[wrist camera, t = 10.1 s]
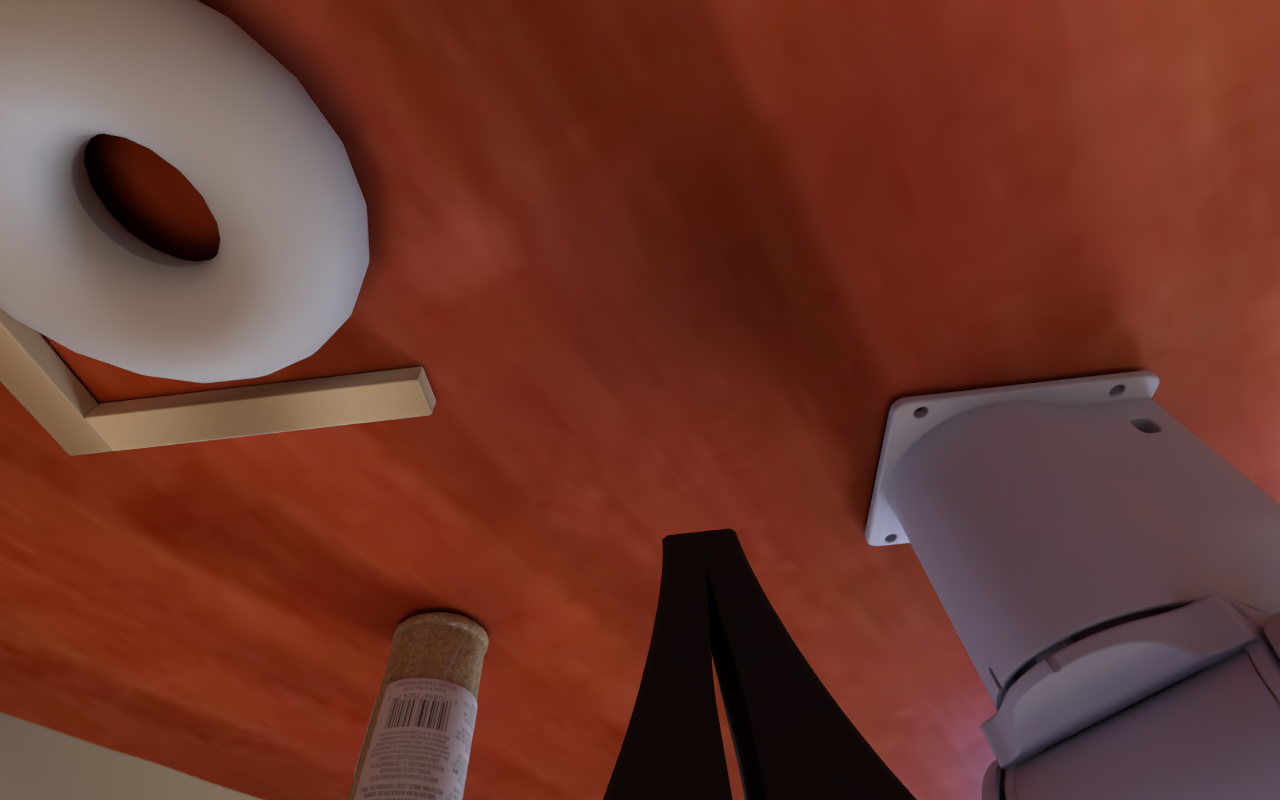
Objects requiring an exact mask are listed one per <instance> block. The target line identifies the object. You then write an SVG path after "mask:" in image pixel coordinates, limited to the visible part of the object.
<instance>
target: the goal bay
mask: <svg viewBox="0 0 1280 800" xmlns="http://www.w3.org/2000/svg"><path fill="white" fill-rule="evenodd" d="M0 382H1V383H2V384H3V385H4V386H5V387H6V388H7V389H8V390H9V391H10V392H11V394H12V395H13V396H14V397H15V398H16V399H17V400H18V401H19V402H20V403H21V404H22V405H23V406H24V407H25V408H26V410H27V411H28V412H29V413H30V414H31V415H32V416H33V417H34V418H35V419H36V420H37V421H38V422H39V423H40V424H41V426H42V427H43V428H44V429H45V430H46V431H47V432H48V433H49V434H50V435H51V436H52V437H53V438H54V439H55V440H56V442H57V443H58V444H59V445H60V446H61V447H62V448H63V449H64V450H65V451H66V452H67V453H68V454H69V455H71V456H73V455H81V454H90V453H99V452H108V451H119V450H127V449H136V448H145V447H154V446H163V445H171V444H180V443H189V442H198V441H207V440H215V439H224V438H233V437H242V436H251V435H259V434H268V433H277V432H286V431H295V430H303V429H312V428H321V427H330V426H338V425H347V424H356V423H365V422H374V421H382V420H391V419H400V418H409V417H418V416H426V415H431V414H432V411H433V409H434V406H435V403H436V399H435V397H434V394H433V392H432V389H431V387H430V384H429V382H428V379H427V377H426V374H425V371H424V369H423V367H412V368H404V369H395V370H386V371H378V372H369V373H360V374H352V375H343V376H334V377H326V378H317V379H308V380H300V381H291V382H282V383H274V384H265V385H256V386H248V387H239V388H230V389H222V390H213V391H204V392H196V393H187V394H178V395H170V396H161V397H152V398H144V399H135V400H126V401H117V402H109V403H100V404H98V403H97V402H96V400H95V399H94V398H93V397H92V396H91V394H90V393H89V392H88V391H87V390H86V388H85V387H84V386H83V385H82V384H81V382H80V381H79V380H78V379H77V378H76V376H75V375H74V374H73V373H72V372H71V371H70V369H69V368H68V367H67V366H66V365H65V363H64V362H63V361H62V360H61V359H60V357H59V356H58V355H57V354H56V353H55V351H54V350H53V349H52V348H51V347H50V345H49V344H48V343H47V342H46V341H45V339H44V338H43V337H42V336H41V335H40V333H39V332H37V331H36V330H34V329H32V328H30V327H28V326H26V325H25V324H23V323H21V322H19V321H17V320H16V319H14V318H13V317H11V316H10V315H9V314H8V313H6V312H5V311H4V310H2V309H1V308H0Z"/></svg>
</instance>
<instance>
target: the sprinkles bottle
mask: <svg viewBox="0 0 1280 800" xmlns="http://www.w3.org/2000/svg"><path fill="white" fill-rule="evenodd" d="M392 641H393V649H392V652H391V655H390V657H389V661H388V665H387V669H386V672H385V676H384V678H383V682H382V685H381V688H380V693H379V695H378V697H377V698H376V700H375V703H374V707H373V710H372V713H371V717H370V720H369V723H368V727H367V730H366V733H365V737H364V741H363V744H362V747H361V751H360V754H359V757H358V761H357V765H356V768H355V772H354V782H353V785H352V788H351V792H350V795H349V798H348V800H463V793H464V787H465V780H466V774H467V767H468V761H469V755H470V749H471V743H472V737H473V731H474V725H475V718H476V712H477V696H478V690H479V683H480V677H481V670H482V665H483V658H484V655H485V653H486V651H487V648H488V642H489V641H488V637H487V633H486V631H485V630H484V629H483V628H482V627H481V626H479V625H478V624H477V623H476V622H475V621H473V620H470V619H469V618H467V617H464V616H461V615H458V614H453V613H447V612H433V613H423V614H418V615H414V616H412V617H410V618H408V619H406V620H405V621H403V622H402V623H400V624H399V625H398V626H397V628H396V630H395V632H394V635H393V638H392Z"/></svg>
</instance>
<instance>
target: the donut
mask: <svg viewBox="0 0 1280 800" xmlns="http://www.w3.org/2000/svg"><path fill="white" fill-rule="evenodd" d="M97 134H109V135H114V136H119V137H124V138H127V139H129V140H132V141H134V142H136V143H138V144H140V145H143V146H145V147H147V148H149V149H151V150H152V151H154V152H155V153H156V154H158V155H159V156H160V157H162V158H163V159H164V160H166V161H167V162H168V163H170V164H171V165H173V166H174V167H175V168H177V169H178V170H179V171H180V172H181V173H182V174H183V175H184V176H185V177H186V178H187V179H188V181H189V182H190V183H191V184H192V185H193V186H194V187H195V188H196V189H197V191H198V192H199V193H200V194H201V195H202V196H203V198H204V200H205V202H206V203H207V205H208V207H209V209H210V211H211V213H212V214H213V216H214V218H215V220H216V222H217V225H218V230H219V235H220V245H219V250H218V254H217V255H216V256H215V258H213V259H211V260H207V261H198V262H195V261H189V260H183V259H178V258H176V257H173V256H171V255H168V254H166V253H163V252H161V251H159V250H156V249H154V248H152V247H151V246H149V245H148V244H146V243H145V242H143V241H142V240H140V239H138V238H137V237H135V236H134V235H132V234H131V233H129V232H128V231H127V230H126V229H125V228H124V227H123V226H122V225H121V224H120V223H119V222H118V221H117V220H116V219H115V218H114V217H113V216H112V215H111V214H110V213H109V212H108V211H107V209H106V208H105V206H104V205H103V203H102V202H101V200H100V199H99V197H98V196H97V194H96V193H95V191H94V189H93V188H92V185H91V182H90V179H89V176H88V173H87V170H86V167H85V164H84V155H85V148H86V146H87V144H88V142H89V141H90V139H91V138H92V137H94V136H95V135H97ZM369 261H370V260H369V241H368V222H367V206H366V203H365V200H364V198H363V195H362V192H361V190H360V187H359V184H358V182H357V179H356V177H355V174H354V171H353V169H352V166H351V163H350V161H349V158H348V155H347V153H346V150H345V148H344V145H343V143H342V141H341V140H340V138H339V137H338V136H337V134H336V133H335V131H334V130H333V129H332V127H331V126H330V124H329V123H328V122H327V120H326V119H325V117H324V116H323V115H322V113H321V112H320V110H319V109H318V107H317V106H316V105H315V103H314V102H313V100H312V99H311V98H310V96H309V95H308V93H307V92H306V91H305V89H304V88H303V86H302V85H301V84H300V82H299V81H298V79H297V78H296V77H295V76H294V75H293V74H292V73H291V72H289V71H288V70H287V69H286V68H285V67H284V66H283V65H282V64H280V63H279V62H278V61H277V60H276V59H275V58H274V57H273V56H271V55H270V54H269V53H268V52H267V51H266V50H265V49H264V48H262V47H261V46H260V45H259V44H258V43H257V42H256V41H255V40H253V39H252V38H251V37H250V36H249V35H248V34H247V33H246V32H244V31H243V30H242V29H241V28H240V27H239V26H238V25H237V24H235V23H234V22H233V21H232V20H231V19H230V18H229V17H227V16H225V15H223V14H221V13H219V12H217V11H216V10H214V9H212V8H210V7H208V6H206V5H205V4H203V3H201V2H199V1H197V0H0V308H1V309H2V310H4V311H5V312H6V313H8V314H9V315H10V316H11V317H13V318H14V319H16V320H17V321H19V322H21V323H23V324H25V325H26V326H28V327H30V328H32V329H34V330H36V331H37V332H39V333H41V334H43V335H45V336H47V337H48V338H50V339H52V340H54V341H56V342H58V343H59V344H61V345H63V346H65V347H67V348H68V349H70V350H72V351H74V352H76V353H79V354H82V355H85V356H88V357H91V358H94V359H97V360H100V361H103V362H105V363H108V364H111V365H114V366H117V367H120V368H123V369H126V370H129V371H132V372H135V373H138V374H142V375H146V376H153V377H161V378H168V379H176V380H183V381H191V382H198V383H211V382H220V381H229V380H239V379H248V378H256V377H261V376H265V375H269V374H271V373H273V372H275V371H278V370H280V369H282V368H284V367H287V366H289V365H291V364H293V363H296V362H298V361H300V360H302V359H305V358H307V357H309V356H311V355H312V354H314V353H315V352H316V351H317V350H318V349H319V348H321V347H322V346H323V344H324V343H325V342H326V341H327V340H328V339H329V338H330V337H331V336H332V335H333V334H334V333H335V332H336V331H337V330H338V329H339V328H340V327H341V325H342V324H343V323H344V322H345V321H346V320H347V319H348V318H349V317H350V316H351V314H352V311H353V309H354V306H355V303H356V300H357V297H358V294H359V291H360V288H361V285H362V282H363V279H364V276H365V274H366V271H367V267H368V264H369Z"/></svg>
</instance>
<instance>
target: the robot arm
mask: <svg viewBox="0 0 1280 800" xmlns="http://www.w3.org/2000/svg"><path fill="white" fill-rule="evenodd" d="M1159 382H1160V380H1159V377H1157V376H1156V375H1155V374H1153V373H1152V372H1150V371H1145V370H1144V371H1135V372H1126V373H1117V374H1108V375H1099V376H1090V377H1081V378H1073V379H1064V380H1055V381H1046V382H1037V383H1028V384H1019V385H1010V386H1002V387H993V388H984V389H975V390H966V391H957V392H948V393H939V394H931V395H922V396H913V397H905V398H901V399H899V400H897V401H895V402H894V403H893V404H892V405H891V408H890V410H889V415H888V420H887V425H886V430H885V435H884V440H883V445H882V450H881V455H880V460H879V465H878V470H877V475H876V480H875V485H874V490H873V495H872V500H871V505H870V510H869V515H868V520H867V525H866V530H865V538H866V540H867V542H868V544H869V545H872V546H883V545H892V544H901V543H911V545H912V547H913V549H914V551H915V553H916V555H917V557H918V559H919V561H920V562H921V564H922V566H923V568H924V570H925V572H926V574H927V576H928V578H929V580H930V582H931V584H932V586H933V587H934V589H935V591H936V593H937V595H938V597H939V599H940V601H941V603H942V605H943V607H944V609H945V611H946V612H947V614H948V616H949V618H950V620H951V622H952V624H953V626H954V628H955V630H956V632H957V634H958V636H959V637H960V639H961V641H962V643H963V645H964V647H965V649H966V651H967V653H968V655H969V657H970V659H971V661H972V663H973V664H974V666H975V668H976V670H977V672H978V674H979V676H980V678H981V680H982V682H983V684H984V686H985V688H986V689H987V691H988V693H989V695H990V697H991V699H992V701H993V703H994V705H995V707H996V709H997V710H998V711H997V712H996V714H994V715H993V716H992V717H991V718H990V719H988V720H987V721H985V722H984V723H982V724H981V728H982V730H983V732H984V734H985V736H986V739H987V741H988V743H989V745H990V747H991V749H992V751H993V753H994V755H995V757H996V760H995V761H994V762H993V763H992V764H990V766H989V767H988V769H987V771H986V773H985V775H984V779H983V784H982V800H1280V504H1279V503H1277V502H1276V501H1275V500H1274V499H1272V498H1271V497H1270V496H1269V495H1268V494H1266V493H1265V492H1264V491H1263V490H1262V489H1260V488H1259V487H1258V486H1257V485H1255V484H1254V483H1253V482H1252V481H1251V480H1249V479H1248V478H1247V477H1246V476H1245V475H1243V474H1242V473H1241V472H1240V471H1238V470H1237V469H1236V468H1235V467H1234V466H1232V465H1231V464H1230V463H1229V462H1228V461H1226V460H1225V459H1224V458H1223V457H1221V456H1220V455H1219V454H1218V453H1217V452H1215V451H1214V450H1213V449H1212V448H1211V447H1209V446H1208V445H1207V444H1206V443H1204V442H1203V441H1202V440H1201V439H1200V438H1198V437H1197V436H1196V435H1195V434H1194V433H1192V432H1191V431H1190V430H1189V429H1187V428H1186V427H1185V426H1184V425H1183V424H1181V423H1180V422H1179V421H1178V420H1177V419H1175V418H1174V417H1173V416H1172V415H1170V414H1169V413H1168V412H1167V411H1166V410H1164V409H1163V408H1162V407H1161V406H1160V405H1158V404H1157V403H1156V402H1155V401H1153V400H1152V399H1151V398H1152V396H1153V395H1154V393H1155V391H1156V389H1157V387H1158V385H1159ZM920 407H922V408H921V409H920V410H918V411H915V410H917V409H918V408H920ZM662 544H663V564H662V577H661V586H660V594H659V601H658V607H657V612H656V618H655V623H654V628H653V634H652V639H651V644H650V648H649V652H648V656H647V660H646V664H645V668H644V672H643V676H642V680H641V684H640V688H639V692H638V696H637V699H636V702H635V706H634V709H633V713H632V716H631V719H630V723H629V726H628V729H627V732H626V735H625V738H624V741H623V745H622V748H621V751H620V754H619V756H618V759H617V762H616V765H615V768H614V770H613V773H612V776H611V779H610V782H609V785H608V787H607V790H606V793H605V796H604V798H603V800H732V794H731V788H730V783H729V777H728V771H727V765H726V759H725V753H724V747H723V741H722V735H721V729H720V723H719V717H718V711H717V705H716V699H715V690H714V681H713V671H712V657H713V661H714V665H715V669H716V674H717V678H718V682H719V686H720V690H721V695H722V699H723V703H724V707H725V711H726V715H727V720H728V724H729V728H730V732H731V736H732V740H733V745H734V749H735V753H736V757H737V761H738V766H739V771H740V776H741V781H742V786H743V791H744V797H745V800H916V798H915V797H914V796H913V795H912V794H911V793H910V792H909V791H908V789H907V788H906V787H905V786H904V785H903V784H902V783H901V781H900V780H899V779H898V778H897V777H896V776H895V775H894V774H893V772H892V771H891V770H890V769H889V768H888V767H887V766H886V764H885V763H884V762H883V761H882V760H881V758H880V757H879V756H878V755H877V754H876V752H875V751H874V750H873V749H872V747H871V746H870V745H869V744H868V742H867V741H866V740H865V739H864V738H863V736H862V735H861V734H860V733H859V731H858V730H857V729H856V728H855V726H854V725H853V724H852V722H851V721H850V720H849V719H848V717H847V716H846V715H845V713H844V712H843V711H842V709H841V708H840V707H839V706H838V704H837V703H836V702H835V700H834V699H833V698H832V696H831V695H830V693H829V692H828V691H827V689H826V688H825V687H824V685H823V684H822V682H821V681H820V680H819V678H818V677H817V675H816V674H815V672H814V671H813V669H812V668H811V667H810V665H809V664H808V662H807V661H806V659H805V658H804V656H803V655H802V653H801V652H800V650H799V649H798V647H797V646H796V644H795V643H794V641H793V640H792V638H791V637H790V635H789V633H788V632H787V630H786V628H785V627H784V625H783V623H782V622H781V620H780V619H779V617H778V615H777V614H776V612H775V610H774V609H773V607H772V605H771V604H770V602H769V600H768V598H767V597H766V595H765V593H764V591H763V590H762V588H761V586H760V584H759V582H758V580H757V578H756V576H755V575H754V573H753V571H752V569H751V567H750V565H749V563H748V560H747V558H746V556H745V554H744V552H743V549H742V547H741V545H740V542H739V540H738V537H737V535H736V532H735V531H733V530H732V529H721V530H712V531H703V532H694V533H684V534H675V535H667V536H666V537H665V538H664V539H663V540H662ZM711 653H712V656H711Z"/></svg>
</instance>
